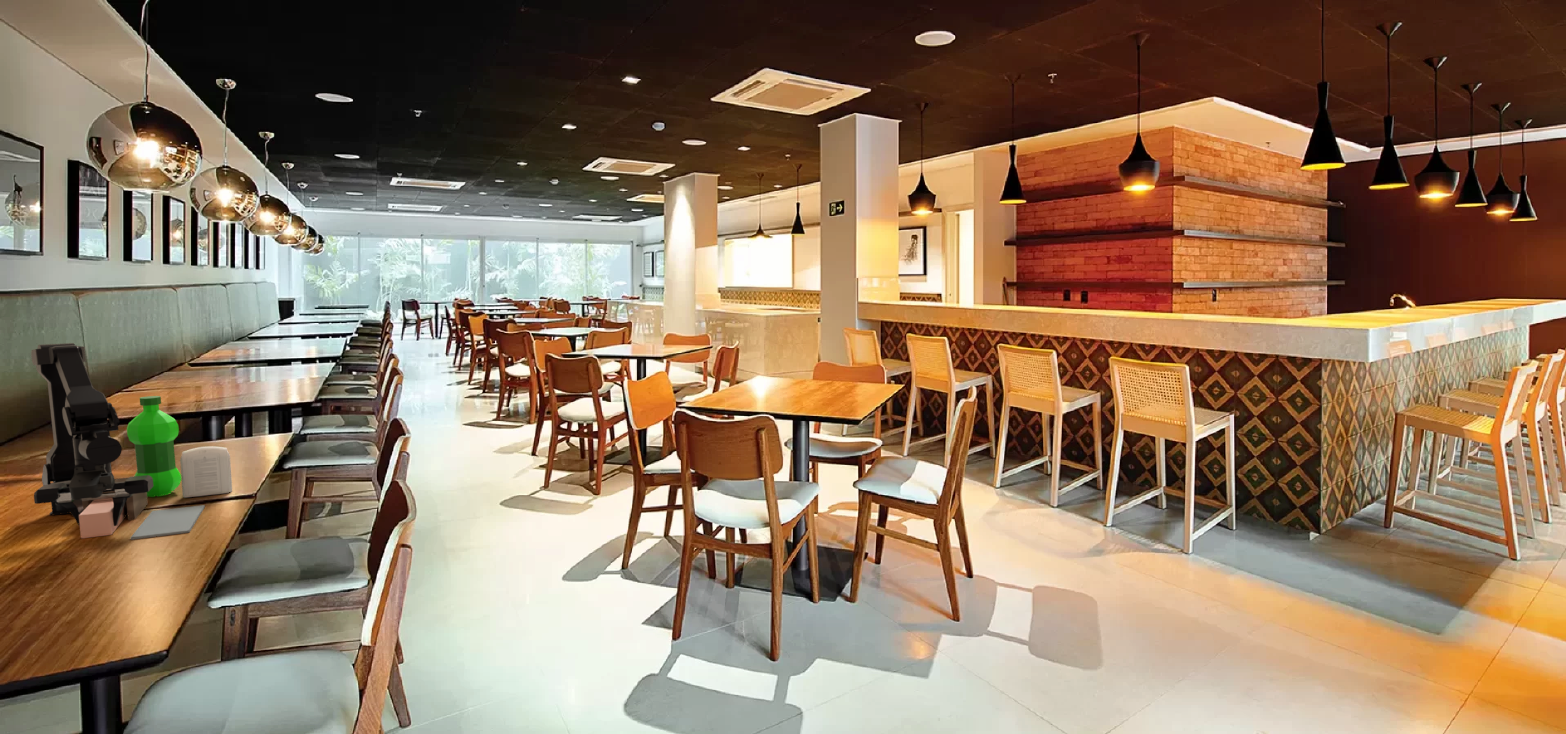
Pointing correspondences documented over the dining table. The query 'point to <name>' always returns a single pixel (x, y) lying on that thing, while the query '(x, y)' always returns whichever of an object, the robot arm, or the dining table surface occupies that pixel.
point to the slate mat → (168, 522)
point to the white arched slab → (205, 471)
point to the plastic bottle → (155, 446)
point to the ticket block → (99, 518)
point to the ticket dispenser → (133, 503)
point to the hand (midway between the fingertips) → (99, 527)
